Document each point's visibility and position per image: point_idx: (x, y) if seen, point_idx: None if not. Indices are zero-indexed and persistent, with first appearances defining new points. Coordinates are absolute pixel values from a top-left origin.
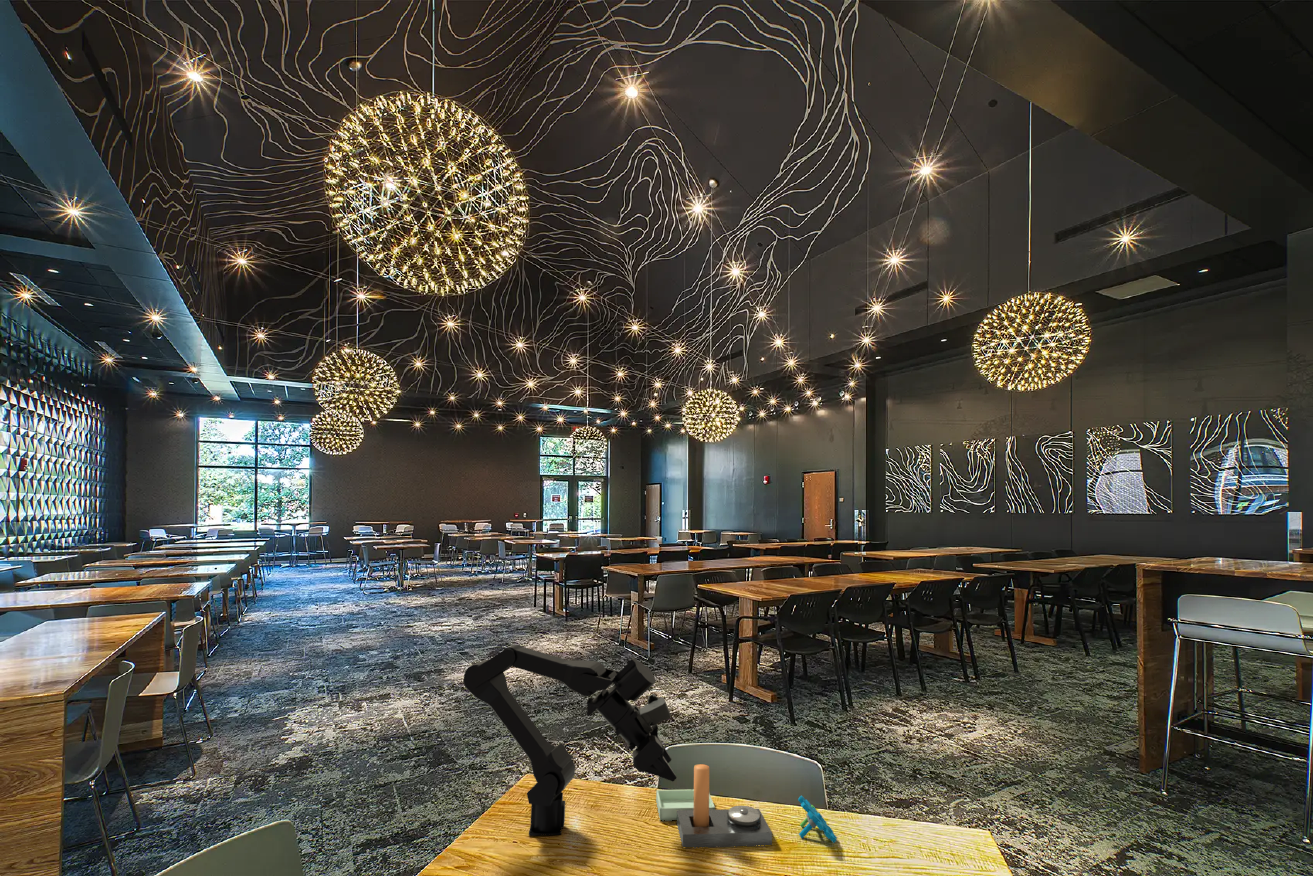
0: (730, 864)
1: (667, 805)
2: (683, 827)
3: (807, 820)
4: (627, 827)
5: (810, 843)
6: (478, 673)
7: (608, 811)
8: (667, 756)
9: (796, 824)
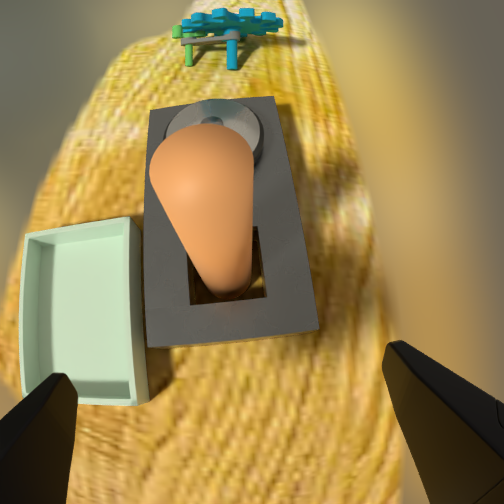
0: (368, 209)
1: (67, 368)
2: (271, 327)
3: (192, 48)
4: (198, 495)
5: (253, 62)
6: None
7: None
8: (55, 404)
9: (177, 72)
